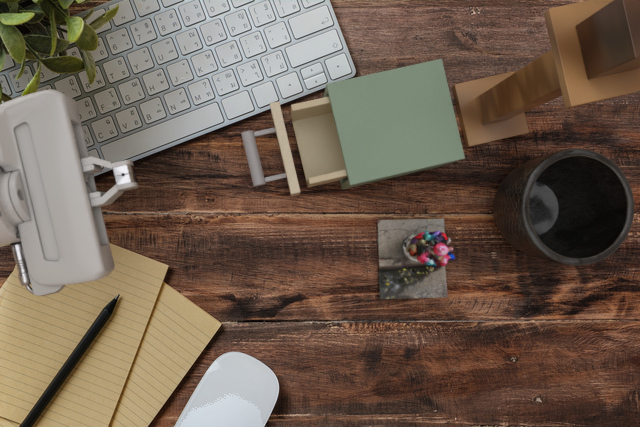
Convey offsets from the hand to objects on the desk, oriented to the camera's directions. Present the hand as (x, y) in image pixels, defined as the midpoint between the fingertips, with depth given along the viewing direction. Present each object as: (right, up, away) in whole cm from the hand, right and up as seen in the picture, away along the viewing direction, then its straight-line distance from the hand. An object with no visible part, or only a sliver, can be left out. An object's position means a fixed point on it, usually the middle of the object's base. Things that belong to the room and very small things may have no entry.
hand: (134, 173), depth 51 cm
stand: (+44, +11, +18) cm, 49 cm away
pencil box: (+46, +11, -8) cm, 47 cm away
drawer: (+19, +5, +16) cm, 25 cm away
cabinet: (+28, +7, +17) cm, 34 cm away
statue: (+33, -11, +17) cm, 38 cm away
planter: (+49, -4, +19) cm, 53 cm away
